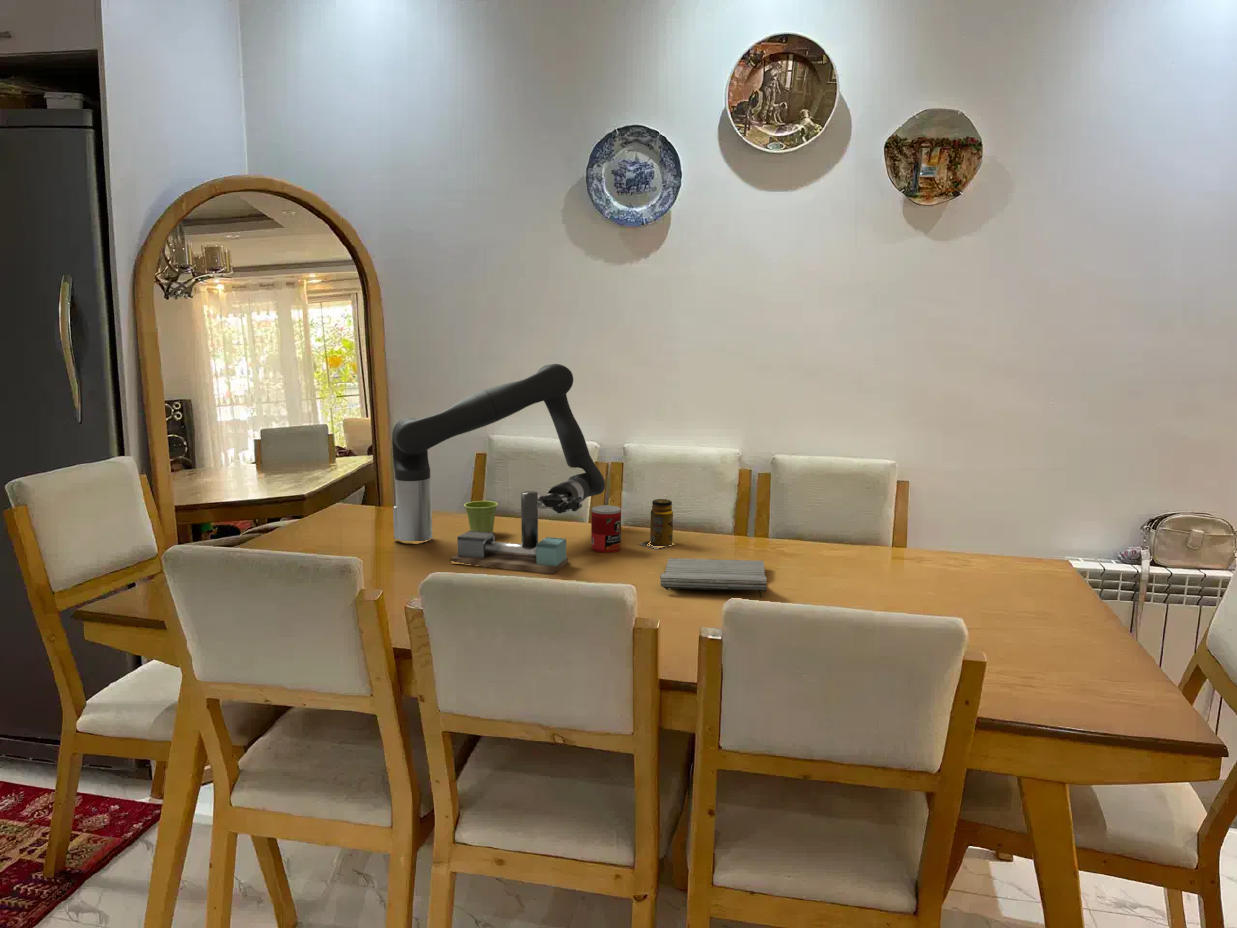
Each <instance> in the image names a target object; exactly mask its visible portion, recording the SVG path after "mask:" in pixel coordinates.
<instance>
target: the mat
mask: <svg viewBox="0 0 1237 928" xmlns="http://www.w3.org/2000/svg"><path fill="white" fill-rule="evenodd" d="M765 571H766V570H765V563H764V560H754V559H753V560H752V559H751V560H745V559H743V560H742V559H713V558H712V559H710V558H709V559H708V558H706V559H705V558H679V557H678V558H674V557H669V558H668V560H667V563H666V567H665V570H664V573H663V572H661V573H660V577H659V578H660V586H661V587H663V588H664V589H665V590H666V591H668V590H669V589H675V590H677V589H678V590H719V591H720V590H724V591H725V590H726V591H754V592H755V591H756V592H758V594H759V597H760V598H761V599H762V595H761V592H767V581H768V579H767V576H766V572H765Z"/></svg>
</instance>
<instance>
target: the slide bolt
mask: <svg viewBox="0 0 1237 928" xmlns="http://www.w3.org/2000/svg"><path fill="white" fill-rule="evenodd" d="M538 493H539V492H537V491H534V490H531V491H528V490H526V491H522V492H520V511H521V514H520V516H521V519H520V521H521V524H520V525H521V527H520V529H521V543H515V542H514V543H512V542H504V541H503V542H502V541H495V542H493V541H485V554H492V555H503V556H514V557H524V558H535V559H536V544H537V543H539V508H538V496H539V494H538Z"/></svg>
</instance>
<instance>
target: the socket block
mask: <svg viewBox="0 0 1237 928" xmlns="http://www.w3.org/2000/svg"><path fill="white" fill-rule="evenodd" d="M566 557H567V538H564V537H563V538H561V537H548V536H546V537H544V538H543V539H541V540H540V541H538V543H537V544H536V561H537V564H539V565H550V566H557V565H558V564H560V563H561V562H562V561H564V560H565V559H566Z"/></svg>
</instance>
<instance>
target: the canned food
mask: <svg viewBox="0 0 1237 928" xmlns="http://www.w3.org/2000/svg"><path fill="white" fill-rule="evenodd" d="M590 515H591V521H590V522H591V524H590V526H591V528H590V529H591V531H590V532H591V533H590V534H591V536H590V537H591V550H592V551H594V552H596V553H604V554H610V553H611V554H612V553H617V552H619V551H620V550H621V547H622V546H621V545H622V544H621V542H622V541H621V540H622V508H621V507H619V506H617V505H606V504H605V505H604V504H603V505H596V506H593V507H592V508H591V514H590Z"/></svg>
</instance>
